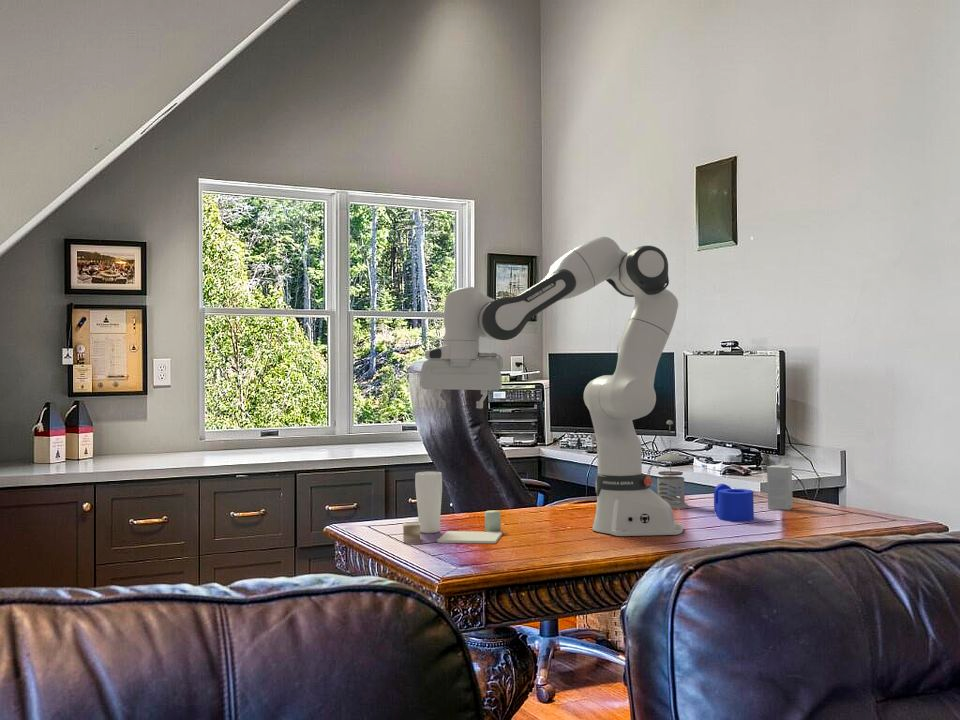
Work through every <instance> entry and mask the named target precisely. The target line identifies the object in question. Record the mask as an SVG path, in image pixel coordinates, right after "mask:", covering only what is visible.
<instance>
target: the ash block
mask: <svg viewBox="0 0 960 720" xmlns="http://www.w3.org/2000/svg"><path fill="white" fill-rule="evenodd" d="M402 528H403V531H402V533H403V534H402V537H403V543H406V542H407V543H409V542H410V541H416V542H421V532H420V522H419V521H418V522H417V521H416V522H403V523H402ZM410 543H411V542H410Z"/></svg>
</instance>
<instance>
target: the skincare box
mask: <svg viewBox="0 0 960 720" xmlns="http://www.w3.org/2000/svg"><path fill="white" fill-rule="evenodd" d="M792 470H793V469H792V466H791V465H773V464H771V465H769V466H767V467H766V476H767V477H766V480H767V509H768V510H769V509H770V510H785V511H789V510H791V509H793V508H794V507H793V505H794V504H793V503H794V502H793V500H794V499H793V498H794V497H793V474H792Z"/></svg>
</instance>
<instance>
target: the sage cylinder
mask: <svg viewBox="0 0 960 720" xmlns="http://www.w3.org/2000/svg"><path fill="white" fill-rule="evenodd" d="M501 512H502V511H501V510H486V511H484V532H485V531H486V532H500V531H501V532H502V519H501V517H502V516H501V515H502V514H501Z"/></svg>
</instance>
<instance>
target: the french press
mask: <svg viewBox="0 0 960 720" xmlns="http://www.w3.org/2000/svg"><path fill="white" fill-rule="evenodd" d="M673 424H674V421H673V420H670V419H668V420H667V421H666V425H669V429H671V425H673ZM671 447H672V446H671V441H669V452H668V453H664V454H662V455H659V456H658V457H657V458H656V461H658V462H655V463H653V464H652V465H650V467H649V468H648V470H647V475H648V477H650V478H651V471H652V468H653V467H654V466H655V465H656V469H658V468H659V467H660V464H659V462H666V463H667V462H669V467H670V468H669V470H663V471H658V474H659V475H660V476H659V477H657V482H656V483H657V485H655V484H654V483H653V482H652V484H651V485H650V487H653V489H656V494H657V495H659V496H660V497H661V498H663V499H664V500H665V501H666V502H668V503H669V505H670V506H671V508H672V509H685V508H688V507H689V504H688V503H687V502H686V501H685V477H683V476H682V475H684V472H682V471H677V470H674V471H673V470H672V462H676V463H677V462H683V461H685V458H684V457H683V456H682V455H679V454H678V453H677V454H676V453H673V452H671V449H672V448H671Z"/></svg>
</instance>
